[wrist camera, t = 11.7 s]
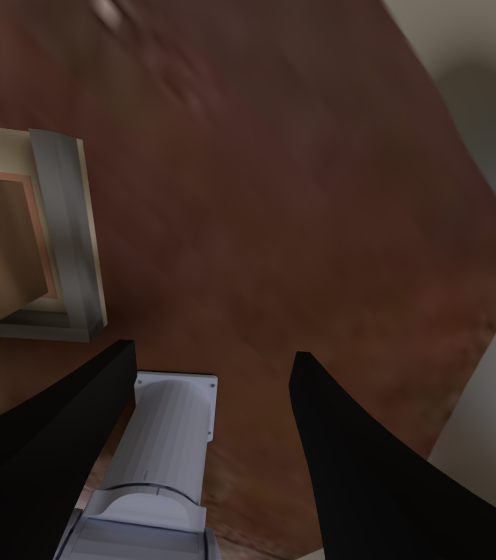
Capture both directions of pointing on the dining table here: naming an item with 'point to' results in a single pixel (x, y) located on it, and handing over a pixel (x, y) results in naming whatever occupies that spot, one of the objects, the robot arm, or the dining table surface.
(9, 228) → the walnut block
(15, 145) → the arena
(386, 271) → the dining table surface
